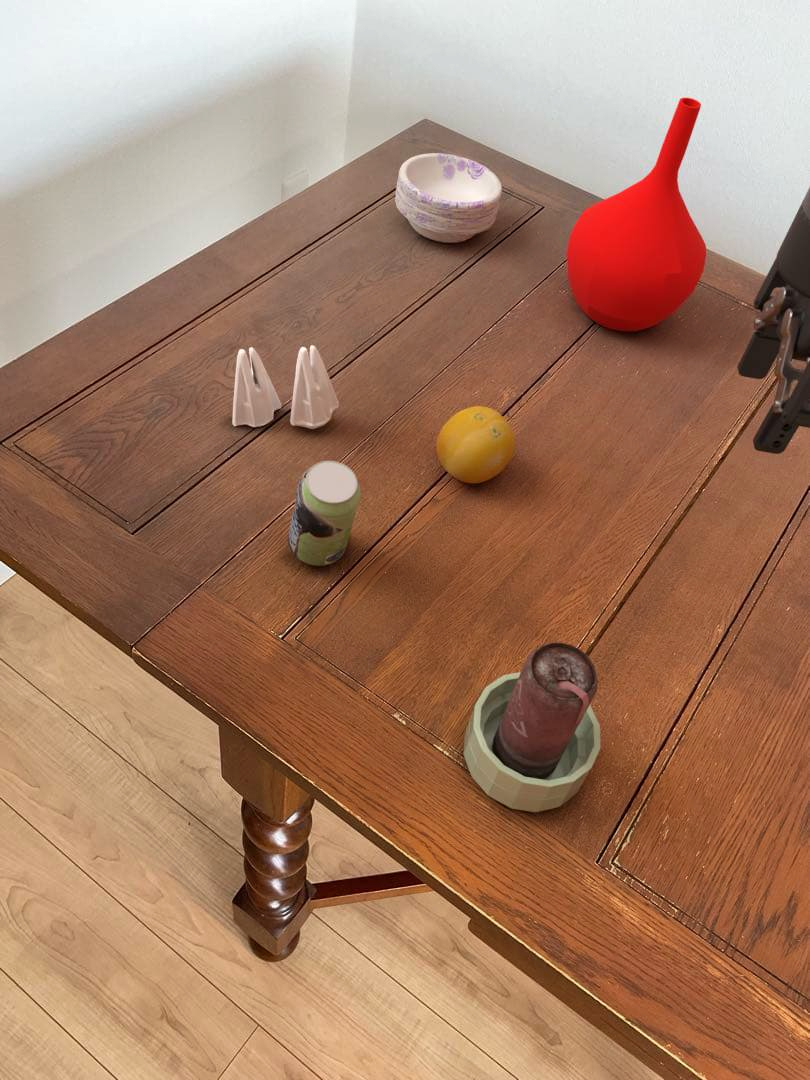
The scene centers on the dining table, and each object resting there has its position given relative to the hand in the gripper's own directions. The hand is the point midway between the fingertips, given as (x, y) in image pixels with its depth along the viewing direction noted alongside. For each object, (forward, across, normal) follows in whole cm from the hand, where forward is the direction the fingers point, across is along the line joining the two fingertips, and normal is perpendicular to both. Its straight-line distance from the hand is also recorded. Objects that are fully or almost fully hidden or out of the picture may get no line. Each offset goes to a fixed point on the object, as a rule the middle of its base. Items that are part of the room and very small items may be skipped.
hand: (757, 410), depth 73 cm
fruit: (+33, +23, +17) cm, 44 cm away
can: (+33, -13, +10) cm, 37 cm away
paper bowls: (+33, +74, +24) cm, 85 cm away
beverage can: (+33, +7, +32) cm, 47 cm away
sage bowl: (+33, -13, +10) cm, 37 cm away
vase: (+33, +60, -2) cm, 69 cm away
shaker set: (+33, +26, +39) cm, 57 cm away
